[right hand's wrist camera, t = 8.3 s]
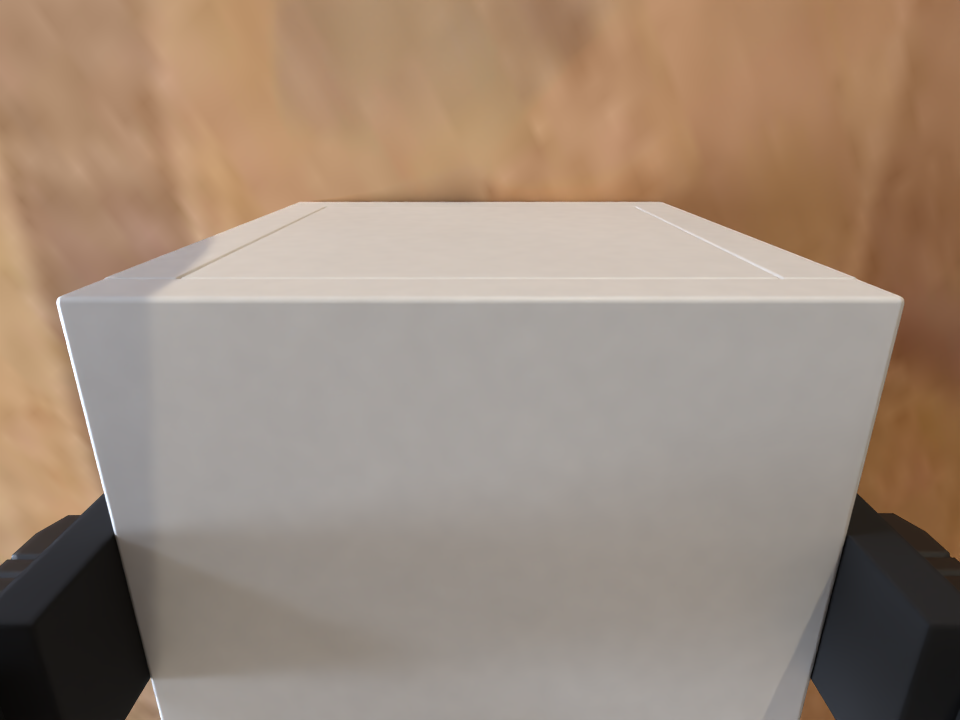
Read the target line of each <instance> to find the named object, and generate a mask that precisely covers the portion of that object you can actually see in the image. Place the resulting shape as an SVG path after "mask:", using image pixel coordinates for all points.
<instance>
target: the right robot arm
mask: <svg viewBox="0 0 960 720" xmlns="http://www.w3.org/2000/svg"><path fill="white" fill-rule="evenodd" d="M810 678H811V680H812V681H813V683H814V685H815V686H816V688H817V689H818V691H819V693H820V694H821V696H822V698H823V699H824V701H825V703H826V704H827V706H828V708H829V709H830V711H831V713H832V714H833V716H834V718H835V719H836V720H960V562H959V561H958V560H957V559H955V558H951V557H950V553H949V552H948V551H947V550H945V549H944V548H943V547H942V546H941V545H940V544H939V543H938V542H937V541H935V540H934V539H933V538H932V537H931V536H930V535H929V534H928V533H926V532H925V531H923V530H922V529H920V528H918V527H916V526H915V525H913V524H911V523H909V522H908V521H906V520H904V519H902V518H901V517H899V516H897V515H895V514H893V513H877V512H876V511H875V510H874V509H873V508H872V507H871V506H870V505H869V504H868V503H867V502H866V501H864V500H863V499H862V498H861V497H860V496H859V495H858V494H856V498H855V502H854V506H853V510H852V514H851V518H850V522H849V526H848V530H847V534H846V538H845V542H844V546H843V550H842V554H841V558H840V562H839V566H838V570H837V574H836V578H835V582H834V586H833V590H832V594H831V598H830V601H829V605H828V609H827V613H826V617H825V621H824V625H823V629H822V633H821V637H820V641H819V645H818V649H817V653H816V657H815V661H814V665H813V669H812V673H811V677H810ZM149 679H150V673H149V669H148V665H147V661H146V657H145V653H144V649H143V645H142V641H141V637H140V633H139V629H138V625H137V621H136V617H135V613H134V609H133V605H132V601H131V597H130V593H129V589H128V585H127V581H126V577H125V573H124V569H123V565H122V561H121V557H120V554H119V550H118V546H117V542H116V538H115V534H114V530H113V526H112V522H111V518H110V514H109V510H108V506H107V502H106V498H105V494H102V495H101V496H100V497H99V498H98V499H97V500H96V501H95V502H94V503H93V504H92V505H91V506H90V507H89V508H88V509H87V510H86V511H85V512H84V513H83V514H82V515H68V516H66V517H64V518H63V519H61V520H59V521H57V522H55V523H54V524H52V525H50V526H48V527H47V528H45V529H43V530H41V531H40V532H38V533H36V534H35V535H34V536H33V537H32V538H31V539H29V540H28V541H27V542H26V543H25V544H24V545H23V546H22V547H21V548H19V549H18V550H17V551H16V552H15V553H14V554H13V555H12V559H11V560H6V561H5V562H4V563H3V564H2V565H1V566H0V720H125V719H126V717H127V715H128V714H129V712H130V710H131V709H132V707H133V705H134V704H135V702H136V700H137V699H138V697H139V696H140V694H141V692H142V691H143V689H144V687H145V686H146V684H147V682H148V681H149Z"/></svg>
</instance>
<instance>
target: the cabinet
mask: <svg viewBox="0 0 960 720" xmlns="http://www.w3.org/2000/svg"><path fill="white" fill-rule="evenodd" d="M57 307H58V311H59V315H60V319H61V323H62V327H63V331H64V335H65V339H66V343H67V347H68V351H69V355H70V359H71V363H72V367H73V371H74V375H75V379H76V383H77V387H78V391H79V395H80V398H81V402H82V406H83V410H84V414H85V418H86V422H87V426H88V430H89V434H90V438H91V442H92V446H93V450H94V454H95V458H96V462H97V466H98V470H99V474H100V478H101V482H102V486H103V490H104V494H105V498H106V502H107V506H108V510H109V514H110V518H111V522H112V526H113V530H114V534H115V538H116V542H117V546H118V550H119V554H120V557H121V561H122V565H123V569H124V573H125V577H126V581H127V585H128V589H129V593H130V597H131V601H132V605H133V609H134V613H135V617H136V621H137V625H138V629H139V633H140V637H141V641H142V645H143V649H144V653H145V657H146V661H147V665H148V669H149V673H150V677H151V681H152V685H153V689H154V693H155V697H156V701H157V705H158V709H159V713H160V716H161V720H800V717H801V713H802V709H803V705H804V701H805V697H806V693H807V689H808V685H809V681H810V677H811V673H812V669H813V665H814V661H815V657H816V653H817V649H818V645H819V641H820V637H821V633H822V629H823V625H824V621H825V617H826V613H827V609H828V605H829V601H830V598H831V594H832V590H833V586H834V582H835V578H836V574H837V570H838V566H839V562H840V558H841V554H842V550H843V546H844V542H845V538H846V534H847V530H848V526H849V522H850V518H851V514H852V510H853V506H854V502H855V498H856V494H857V490H858V486H859V482H860V478H861V474H862V470H863V466H864V462H865V458H866V454H867V450H868V446H869V442H870V438H871V434H872V430H873V426H874V422H875V418H876V414H877V410H878V407H879V403H880V399H881V395H882V391H883V387H884V383H885V379H886V375H887V371H888V367H889V363H890V359H891V355H892V351H893V347H894V343H895V339H896V335H897V331H898V327H899V323H900V319H901V315H902V311H903V307H904V299H903V298H902V297H900V296H898V295H896V294H893V293H891V292H888V291H886V290H883V289H880V288H878V287H875V286H873V285H870V284H868V283H865V282H863V281H860V280H858V279H856V278H855V277H853V276H850V275H847V274H845V273H842V272H840V271H837V270H835V269H832V268H829V267H827V266H824V265H822V264H819V263H817V262H814V261H812V260H809V259H806V258H804V257H801V256H799V255H796V254H794V253H791V252H788V251H786V250H783V249H781V248H778V247H776V246H773V245H771V244H768V243H765V242H763V241H760V240H758V239H755V238H753V237H750V236H748V235H745V234H742V233H740V232H737V231H735V230H732V229H730V228H727V227H724V226H722V225H719V224H717V223H714V222H712V221H709V220H707V219H704V218H701V217H699V216H696V215H694V214H691V213H689V212H686V211H683V210H681V209H678V208H676V207H673V206H671V205H668V204H666V203H663V202H299V203H296V204H294V205H291V206H288V207H286V208H283V209H281V210H278V211H276V212H273V213H271V214H268V215H265V216H263V217H260V218H258V219H255V220H253V221H250V222H247V223H245V224H242V225H240V226H237V227H235V228H232V229H229V230H227V231H224V232H222V233H219V234H217V235H214V236H211V237H209V238H206V239H204V240H201V241H199V242H196V243H194V244H191V245H188V246H186V247H183V248H181V249H178V250H176V251H173V252H170V253H168V254H165V255H163V256H160V257H158V258H155V259H152V260H150V261H147V262H145V263H142V264H140V265H137V266H134V267H132V268H129V269H127V270H124V271H122V272H119V273H117V274H114V275H111V276H109V277H107V278H105V279H103V280H101V281H98V282H96V283H93V284H91V285H88V286H86V287H83V288H81V289H78V290H75V291H73V292H70V293H68V294H65V295H63V296H61V297H59V298H58V299H57Z"/></svg>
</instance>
